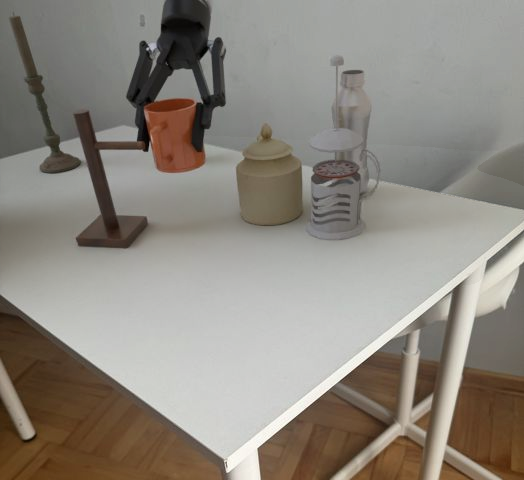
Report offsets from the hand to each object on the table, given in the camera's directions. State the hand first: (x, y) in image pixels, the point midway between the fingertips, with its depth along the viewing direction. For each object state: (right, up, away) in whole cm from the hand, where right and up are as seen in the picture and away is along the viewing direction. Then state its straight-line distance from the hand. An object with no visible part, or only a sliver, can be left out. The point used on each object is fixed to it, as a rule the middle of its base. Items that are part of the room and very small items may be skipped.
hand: (169, 147), depth 82 cm
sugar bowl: (+15, -6, +13) cm, 21 cm away
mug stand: (-9, -11, +9) cm, 17 cm away
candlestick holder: (-32, +11, +40) cm, 53 cm away
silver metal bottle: (+30, -2, +16) cm, 34 cm away
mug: (+1, -2, +3) cm, 4 cm away
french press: (+27, -11, +6) cm, 30 cm away
